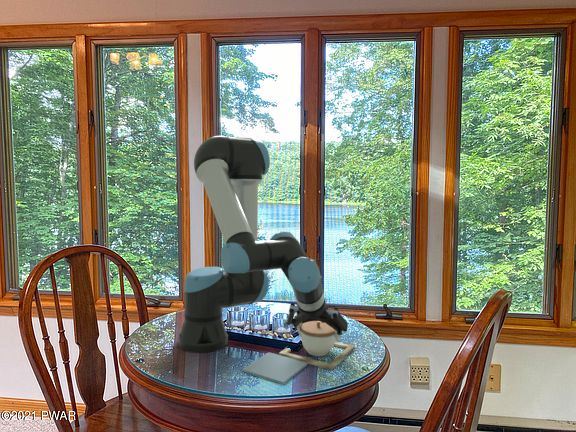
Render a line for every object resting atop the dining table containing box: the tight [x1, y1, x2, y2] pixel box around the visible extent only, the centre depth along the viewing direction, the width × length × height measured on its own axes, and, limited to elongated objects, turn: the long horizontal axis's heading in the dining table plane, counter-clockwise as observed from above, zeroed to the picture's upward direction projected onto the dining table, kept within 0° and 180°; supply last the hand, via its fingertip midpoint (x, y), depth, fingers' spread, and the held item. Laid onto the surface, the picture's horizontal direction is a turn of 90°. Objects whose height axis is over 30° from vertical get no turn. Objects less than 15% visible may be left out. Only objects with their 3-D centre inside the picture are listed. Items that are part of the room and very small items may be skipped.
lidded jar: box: [300, 321, 336, 357], centre depth 123 cm, size 11×11×9 cm
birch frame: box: [278, 341, 355, 371], centre depth 123 cm, size 17×17×1 cm
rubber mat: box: [241, 351, 308, 385], centre depth 112 cm, size 13×13×1 cm
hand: (319, 335), depth 126 cm, fingers closed on lidded jar, 11 cm apart
